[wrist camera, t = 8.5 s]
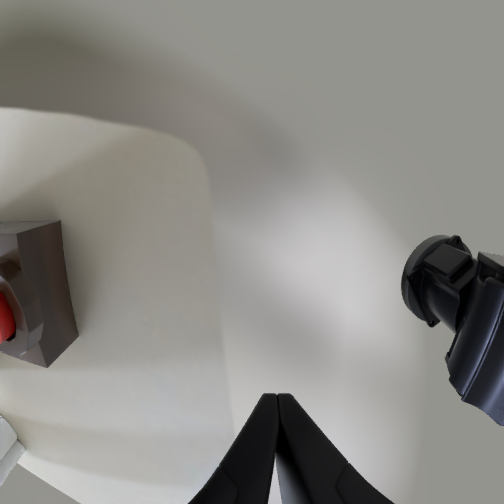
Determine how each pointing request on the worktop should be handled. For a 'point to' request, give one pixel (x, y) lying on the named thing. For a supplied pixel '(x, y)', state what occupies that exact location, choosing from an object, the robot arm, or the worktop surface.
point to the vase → (8, 449)
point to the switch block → (36, 291)
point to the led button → (6, 319)
